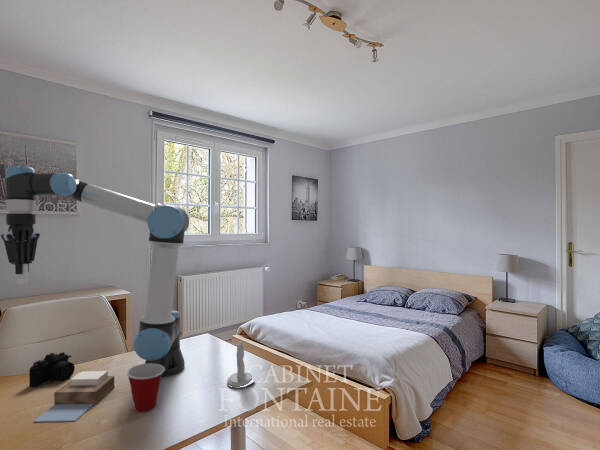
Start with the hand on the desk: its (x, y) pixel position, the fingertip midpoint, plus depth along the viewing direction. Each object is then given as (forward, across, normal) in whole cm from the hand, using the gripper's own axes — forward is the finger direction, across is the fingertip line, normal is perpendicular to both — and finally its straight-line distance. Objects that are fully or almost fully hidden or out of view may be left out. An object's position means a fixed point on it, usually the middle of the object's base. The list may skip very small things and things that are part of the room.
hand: (22, 283), depth 111 cm
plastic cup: (+39, +7, +44) cm, 59 cm away
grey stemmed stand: (+39, -10, +71) cm, 81 cm away
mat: (+38, +10, +21) cm, 45 cm away
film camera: (+38, -13, +1) cm, 40 cm away
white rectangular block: (+34, -2, +20) cm, 40 cm away
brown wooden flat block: (+38, 0, +20) cm, 43 cm away
